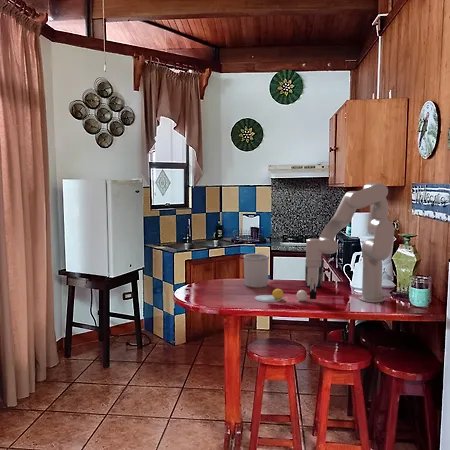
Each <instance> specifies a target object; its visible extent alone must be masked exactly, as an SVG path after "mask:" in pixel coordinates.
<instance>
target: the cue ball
mask: <svg viewBox="0 0 450 450" xmlns="http://www.w3.org/2000/svg"><path fill="white" fill-rule="evenodd" d="M296 298H297V300H298V301H300V302H304V301H305V302H306V300H307V299H308V292H307V291H305V290H303V289H300V290H298V291H297V293H296Z"/></svg>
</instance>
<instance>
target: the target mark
mask: <svg viewBox="0 0 450 450" xmlns="http://www.w3.org/2000/svg"><path fill="white" fill-rule="evenodd" d="M282 298H283V297H282ZM282 298H281V299H275V298H274V297H273V294H262V295H256V296H255V297H254V301H255V300H256V301H258V302H262V303H277V302H281V301H282V300H283V299H282ZM280 300H281V301H280Z"/></svg>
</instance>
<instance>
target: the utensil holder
mask: <svg viewBox="0 0 450 450" xmlns="http://www.w3.org/2000/svg"><path fill="white" fill-rule="evenodd" d="M269 258H270V255H268V254H267V253H266V254H265V253H247V254H244V255H243V270H244V271H243V276H244V286H246V287H250V288H263V287H267V286H268V284H269Z"/></svg>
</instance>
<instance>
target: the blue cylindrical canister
mask: <svg viewBox="0 0 450 450" xmlns="http://www.w3.org/2000/svg"><path fill="white" fill-rule="evenodd" d="M304 265H305V267H304V270H305V271H304V273H305V274H304V277H305V278H304V279H305V280H304V285H305V286H306V287H309V288H310V285H309V286H307V274H308V267H307V266H306V264H304ZM322 283H323V258H322V257H321V267H319V274H318V284H317V286H316V288H320V287H321V286H322Z"/></svg>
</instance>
